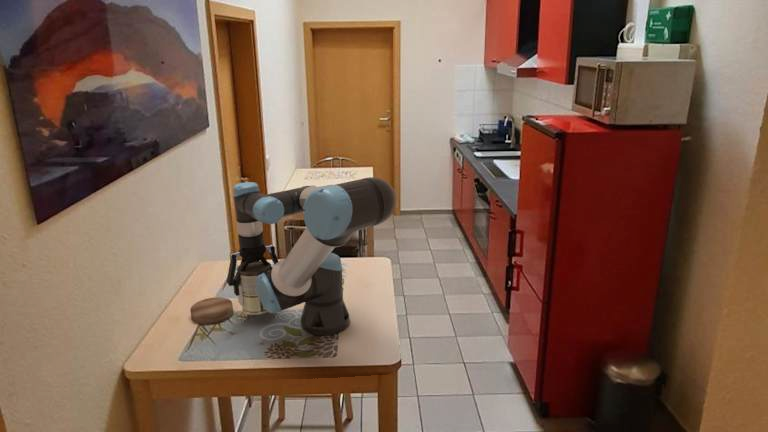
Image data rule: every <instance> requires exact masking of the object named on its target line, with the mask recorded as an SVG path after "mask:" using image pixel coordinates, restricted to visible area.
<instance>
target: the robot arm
mask: <svg viewBox="0 0 768 432" xmlns="http://www.w3.org/2000/svg"><path fill="white" fill-rule="evenodd" d="M232 192H233V193H232V194H233V195H232V196H233V197H232V198H233V202H234V205H233V206H234V212H235V219H236V226H237V227H236V229H237V234H238V237H237V238H238V245H239V246H238V247H239V249H238V251H237V252H234V253H233V252H230V253H229V267H228V272H227V276H226V277H227V279H226V284H227V285H228V286H230V287H233V293H234V295H235V296H237V300H238V304H239V305H240V306H241V307H242V305H244V303H243V294H242V286H241V285H240V284H239V283H240V281H241V276H240V273H238V271H237V262H238V259H239V257H241V260H240V265H239V270H240V271H245V270H246V267H247V266H248V264H249V263H253V262H258V261H262V263H263V264H264V265H266V266H267V265H269V263H270V262H269V263H268V260H267V259H266V258H265V256H264V254H265V253H266V252H267V253H269V255H270V258H271V261H272V263H273V267H272V266H271V271H269V272H267V273H262V274H260V275H258V276H257V278H256V289H257V293H258V296H259V299H260V301H261V303H262V305H263V306H264V308H265V309H266V310H267V311H268V312H267V313H269V314H276V313H280V312H281V313H282V311H284V310H287V309H291V308H293V307H295V306H297V305H298V306H299V305H301V304H304V306H303V310H302V313H301V317H300V327H301V329H302V330H303V331H304V332H305V333H308V334H310V335H315V336H330V335H335V334H338V333H340V332H343V331H344V330H346V329H347V328H348V327H349V325H350V322H351V321H350V313H349V311H348V309H347V306H346V303H345V302H344V293H343V288H344V287H343V273H342V272H343V266H342V260H341V257H340V256H339V255H338V254H336V253H333V250H334V249H335V248H338V247H339V248H340V247H341V246H344V245H346V243H348V242H349V240H350V239H351V238H352V237H353V236H354V234H355V233H356V232H358V231H361V230H365V229H367V228H371V227H375V226H378V225H380V224H383V223H384V222H385V221H387V220H389V219H390V218H391V216H392V215H393V213H394V211H395V210H396V209H395V208H396V205H397V196H396V193H395V190H394V188H393V186H392V185H391V184H390V183H389V182H387V181H386V180H385V179H383V178H379V177H375V176H374V177H371V176H370V177H364V178H359V179H356V180H351V181H347V182H342V183H336V184H327V185H323V186H316V185H305V186H304V185H303V186H301V187H297V188H293V189H292V188H291V189H287V190H282V191H277V192H273V193H267V194H263V193H260V188H259V185H258V183H257V182H254V181H253V182H252V181H248V182H247V181H246V182H239V183H236V184H234V185H233V188H232ZM302 213H303V214H302ZM297 214H298V215H299V214H302V215H303V221H304V224H305V227H306V228H305V229H304V230H303V232H302V234H301V235H300V237H299V238H297V241H296V242H295V244H294V245H293V247H292V248H291V250H290V251H289V252H288V254H287V255H286V258H282V259H280V260H279V259H278V257H277V254H276V247H275V246H274V245H273V244H271V243H270V244H269V245H265V237H264V232H263V230H264V228H263V224H267V225H268V224H269V225H275V224H277V223H278V222H279V221H281V220H282V218H285V217H289V216H290V217H291V216H293V215H297Z"/></svg>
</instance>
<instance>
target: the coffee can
mask: <svg viewBox="0 0 768 432" xmlns="http://www.w3.org/2000/svg"><path fill="white" fill-rule="evenodd" d="M267 262H268V261H267ZM268 263H269V265H267V266H266V265H264V264H263V263H262V261H261V260H260V261H258V262H253V263H249V264H248V266H247V267H246V270H245V271H240V270H239V266H240V265H239V266H237V267H236V272H237V271H238V273H240V276H241V281H240V283H239V284H240V285H241V286H242V294H243V303H244V305H242V306H241V309H242V312H243V314H244V313H245V314H246V315H251V316H254V315H256V316H257V315H262V314H265V313H269V312H268V311H267V310H266V309H265V308H264V306H263V305H262V303H261V301H260V299H259V296H258V293H257V289H256V278H257V276H258V275H260V274H262V273H267V272H269V271H271V267H272V264H271V263H270V261H269V262H268Z"/></svg>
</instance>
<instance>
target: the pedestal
mask: <svg viewBox="0 0 768 432" xmlns="http://www.w3.org/2000/svg"><path fill="white" fill-rule="evenodd" d="M233 305H234V304H233V301H232V300H230V299H229V298H226V297H216V296H215V297H208V298H205V299H202V300H199V301H197V302H195V303H194V304H192V305H191V307H190V309H189V312H190V317H191V321H192V322H193V323H195V324H198V325H214V324H219V323H222V322H225V321H226V320H228V319H229V318H231V317H232V316H233V315H234V308H233Z"/></svg>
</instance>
